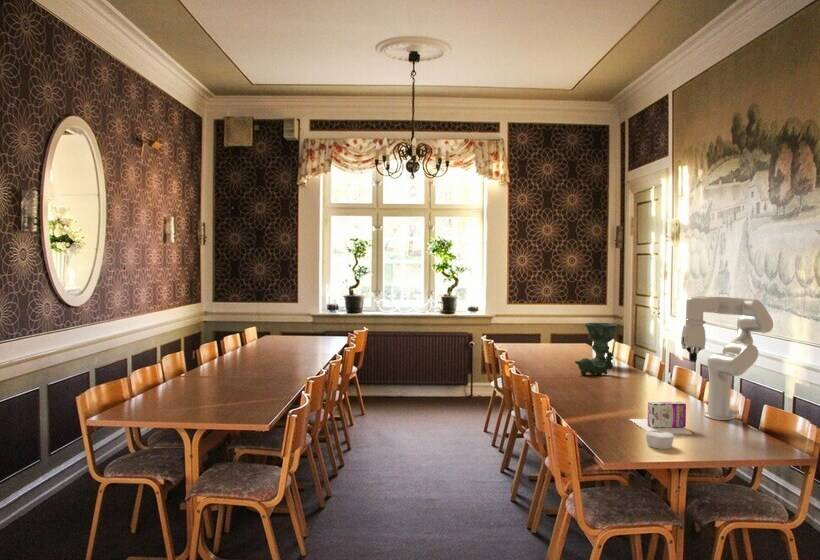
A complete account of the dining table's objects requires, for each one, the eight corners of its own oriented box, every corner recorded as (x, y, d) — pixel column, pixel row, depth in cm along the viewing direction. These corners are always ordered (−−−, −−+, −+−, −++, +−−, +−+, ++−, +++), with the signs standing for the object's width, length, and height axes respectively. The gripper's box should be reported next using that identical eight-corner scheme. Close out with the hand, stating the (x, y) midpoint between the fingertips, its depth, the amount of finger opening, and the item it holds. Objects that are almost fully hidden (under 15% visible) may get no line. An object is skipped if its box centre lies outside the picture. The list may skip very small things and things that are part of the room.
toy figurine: (607, 376, 428) (570, 372, 426) (610, 348, 427) (574, 344, 425) (612, 379, 419) (575, 375, 416) (615, 350, 418) (578, 346, 416)
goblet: (623, 367, 454) (624, 325, 453) (600, 369, 443) (601, 326, 442) (599, 362, 473) (600, 322, 472) (577, 364, 462) (578, 323, 461)
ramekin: (666, 442, 272) (667, 430, 272) (678, 450, 261) (678, 437, 261) (640, 442, 272) (641, 429, 271) (651, 450, 261) (651, 437, 260)
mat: (667, 420, 308) (667, 419, 308) (691, 434, 284) (691, 433, 284) (628, 420, 307) (628, 418, 307) (650, 434, 283) (650, 433, 283)
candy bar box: (680, 401, 298) (647, 401, 296) (686, 403, 293) (653, 403, 291) (679, 425, 298) (646, 425, 296) (685, 427, 293) (652, 428, 291)
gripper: (705, 322, 309) (704, 360, 310) (675, 322, 308) (674, 359, 309) (713, 324, 302) (712, 362, 302) (682, 323, 301) (681, 362, 302)
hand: (692, 361), depth 306 cm, fingers closed
